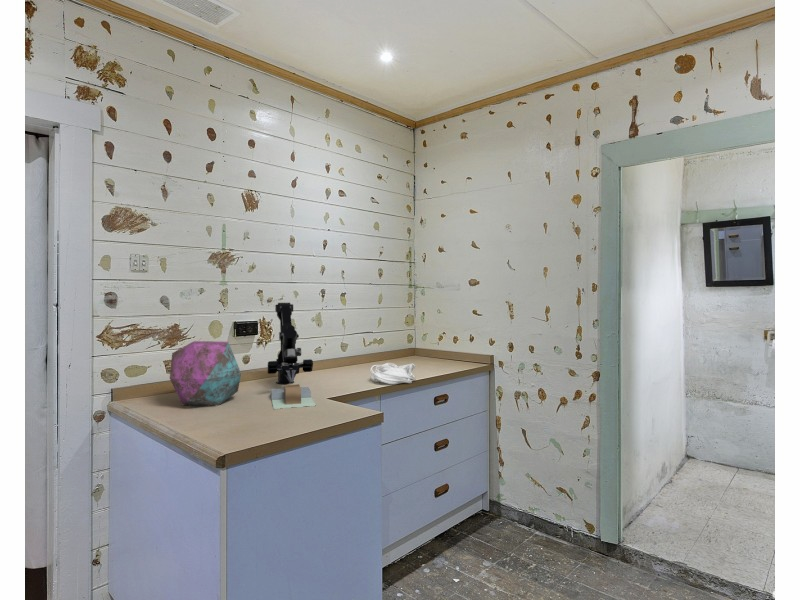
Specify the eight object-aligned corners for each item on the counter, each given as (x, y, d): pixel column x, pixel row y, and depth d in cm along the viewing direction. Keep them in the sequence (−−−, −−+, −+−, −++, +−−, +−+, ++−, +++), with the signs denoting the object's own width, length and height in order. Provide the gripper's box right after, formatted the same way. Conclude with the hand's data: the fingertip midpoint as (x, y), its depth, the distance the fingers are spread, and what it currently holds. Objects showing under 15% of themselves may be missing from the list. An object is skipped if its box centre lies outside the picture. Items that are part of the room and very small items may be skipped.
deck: (270, 396, 206) (270, 389, 206) (308, 393, 211) (308, 386, 211) (271, 400, 198) (271, 393, 198) (310, 398, 203) (310, 391, 203)
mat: (271, 401, 197) (271, 400, 197) (311, 398, 202) (311, 397, 202) (273, 409, 184) (273, 408, 184) (315, 406, 189) (315, 405, 189)
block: (284, 385, 198) (285, 389, 189) (298, 384, 200) (301, 388, 191) (284, 399, 198) (285, 404, 189) (299, 398, 200) (301, 403, 191)
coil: (398, 376, 256) (397, 358, 256) (427, 382, 237) (427, 363, 237) (358, 382, 241) (358, 364, 241) (386, 389, 222) (385, 368, 222)
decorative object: (137, 399, 185) (174, 347, 209) (206, 436, 195) (233, 382, 219) (169, 360, 170) (205, 308, 194) (242, 402, 180) (267, 348, 204)
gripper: (267, 342, 201) (268, 372, 191) (312, 340, 207) (316, 370, 196) (266, 358, 209) (268, 388, 198) (310, 356, 214) (313, 385, 204)
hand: (291, 382), depth 199 cm, fingers closed
